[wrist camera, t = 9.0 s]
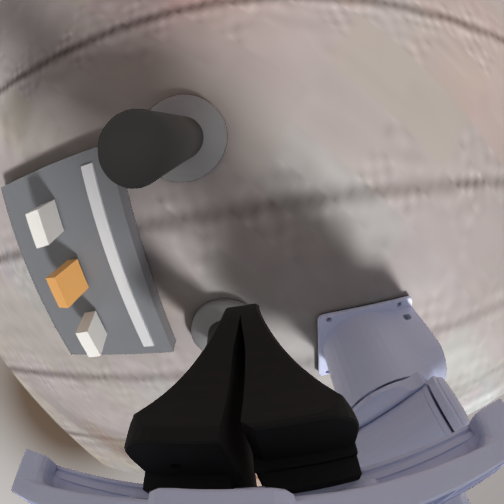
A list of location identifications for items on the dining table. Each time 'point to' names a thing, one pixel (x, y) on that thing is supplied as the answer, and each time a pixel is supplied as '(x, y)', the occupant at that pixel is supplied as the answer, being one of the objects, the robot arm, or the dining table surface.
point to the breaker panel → (91, 255)
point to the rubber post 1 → (163, 142)
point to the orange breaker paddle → (67, 283)
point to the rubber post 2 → (209, 319)
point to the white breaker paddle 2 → (91, 334)
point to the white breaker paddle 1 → (44, 223)
